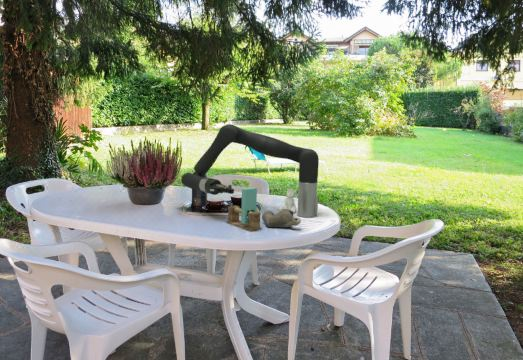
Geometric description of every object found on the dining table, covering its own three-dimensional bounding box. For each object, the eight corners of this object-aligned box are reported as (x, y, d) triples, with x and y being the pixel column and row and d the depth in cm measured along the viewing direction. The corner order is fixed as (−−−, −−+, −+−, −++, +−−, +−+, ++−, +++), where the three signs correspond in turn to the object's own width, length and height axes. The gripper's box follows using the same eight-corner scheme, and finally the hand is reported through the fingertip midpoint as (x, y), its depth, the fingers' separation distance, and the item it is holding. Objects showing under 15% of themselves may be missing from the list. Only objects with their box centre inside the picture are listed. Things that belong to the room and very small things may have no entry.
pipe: (277, 245, 210) (305, 228, 210) (271, 236, 203) (300, 218, 203) (263, 220, 221) (290, 204, 221) (256, 210, 214) (284, 194, 214)
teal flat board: (241, 222, 206) (241, 188, 204) (252, 220, 211) (253, 187, 208) (244, 224, 204) (245, 189, 202) (255, 221, 209) (256, 188, 206)
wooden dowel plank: (226, 222, 215) (227, 206, 214) (237, 221, 219) (237, 204, 218) (250, 231, 202) (251, 213, 201) (261, 229, 206) (261, 212, 205)
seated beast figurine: (276, 211, 240) (277, 188, 238) (284, 208, 247) (284, 186, 245) (293, 214, 236) (294, 191, 233) (300, 210, 243) (301, 188, 241)
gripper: (221, 191, 231) (243, 197, 219) (199, 194, 222) (221, 201, 210) (221, 177, 230) (243, 182, 217) (199, 179, 221) (221, 184, 209)
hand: (232, 191), depth 214 cm, fingers closed
